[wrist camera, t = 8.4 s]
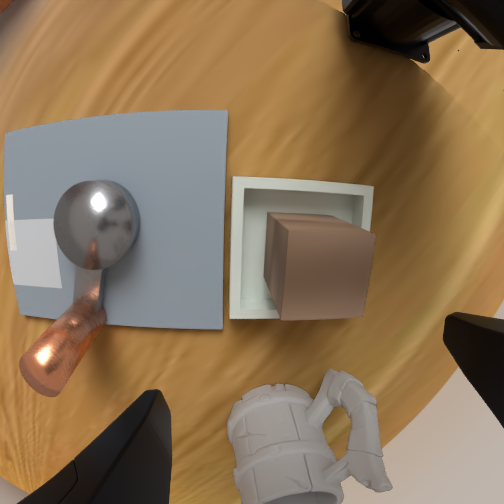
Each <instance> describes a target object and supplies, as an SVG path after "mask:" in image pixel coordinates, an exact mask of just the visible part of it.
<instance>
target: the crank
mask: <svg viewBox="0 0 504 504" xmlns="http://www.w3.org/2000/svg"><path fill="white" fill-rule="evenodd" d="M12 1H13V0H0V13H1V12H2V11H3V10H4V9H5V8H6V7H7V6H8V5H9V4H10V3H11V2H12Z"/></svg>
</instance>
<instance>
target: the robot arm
mask: <svg viewBox="0 0 504 504" xmlns="http://www.w3.org/2000/svg"><path fill="white" fill-rule="evenodd" d="M342 7H343V11H344V13H345V14H346V19H347V34H348V37H349V39H350V40H351V41H353V42H356V43H360V44H364V45H368V46H371V47H375V48H378V49H382V50H385V51H388V52H392V53H395V54H398V55H401V56H404V57H407V58H410V59H412V60H415V61H418V62H421V63H427V62H429V61H430V53H429V46H428V43H430V42H432V41H434V40H436V39H438V38H440V37H442V36H444V35H446V34H448V33H450V32H452V31H454V30H456V29H459V28H462V29H463V30H464V31H465V32H466V33H467V34H468V35H469V36H470V37H471V38H472V39H473V40H474V42H475V43H476V44H477V45H478V47H479V48H480V49H502V50H504V0H342ZM353 33H355V34H357V35H358V37H356V36H355V35H354V34H353ZM422 55H423V56H424V58H425V59H424V58H423V56H422ZM443 341H444V344H445V346H446V347H447V349H448V350H449V352H450V353H451V355H452V356H453V358H454V359H455V361H456V363H457V364H458V366H459V367H460V369H461V370H462V372H463V373H464V375H465V376H466V378H467V379H468V380H469V382H470V383H471V384H472V386H473V387H474V388H475V390H476V391H477V392H478V393H479V395H480V396H481V397H482V399H483V400H484V402H485V403H486V404H487V406H488V407H489V408H490V410H491V411H492V412H493V414H494V415H495V416H496V418H497V419H498V420H499V422H500V423H501V425H502V427H503V428H504V320H503V319H497V318H491V317H485V316H479V315H473V314H467V313H461V312H454V313H452V314H450V315H448V316H447V317H446V319H445V325H444V333H443ZM171 468H172V438H171V413H170V409H169V407H168V405H167V403H166V401H165V399H164V397H163V394H162V392H161V391H160V390H158V389H154V390H146V391H145V392H144V393H143V394H142V395H141V396H139V397H138V398H137V399H136V400H135V401H134V402H133V403H132V404H131V405H130V406H129V407H128V408H127V409H126V410H125V411H124V412H123V413H122V414H121V415H120V416H119V417H118V418H117V419H116V420H115V421H113V422H112V423H111V424H110V425H109V426H108V427H107V428H106V429H105V430H104V431H103V432H102V433H101V434H100V435H99V436H98V437H97V438H96V439H94V440H93V441H92V442H91V443H90V444H89V445H88V446H87V447H86V448H85V449H84V450H83V451H82V452H81V453H79V454H78V455H77V456H76V457H75V458H74V460H72V461H71V462H70V463H69V464H67V465H66V466H65V467H64V468H63V469H62V470H61V471H60V472H58V473H57V474H56V475H55V476H54V477H53V478H51V479H50V480H49V481H47V482H46V483H45V484H43V485H42V486H41V487H39V488H38V489H37V490H35V491H34V492H32V493H31V494H30V495H28V496H27V497H25V498H24V499H23V500H21V501H20V502H18V503H17V504H169V494H170V480H171Z"/></svg>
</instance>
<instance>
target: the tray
mask: <svg viewBox="0 0 504 504" xmlns="http://www.w3.org/2000/svg"><path fill="white" fill-rule="evenodd" d="M373 190H374V186H367V185H358V184H348V183H337V182H326V181H313V180H299V179H283V178H264V177H238V176H232V190H231V222H230V263H229V316H230V319H271V318H280V317H279V314H278V312H277V309H276V307H275V304H274V302H273V299H272V297H271V294H270V292H269V289H268V287H267V284H266V282H265V279H264V277H263V273H264V257H265V241H266V224H267V212H281V213H301V214H319V215H332V216H334V217H336V218H339V219H341V220H344V221H346V222H348V223H351V224H353V225H355V226H358V227H360V228H362V229H365V230H367V231H369V232H370V225H371V214H372V203H373Z"/></svg>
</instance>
